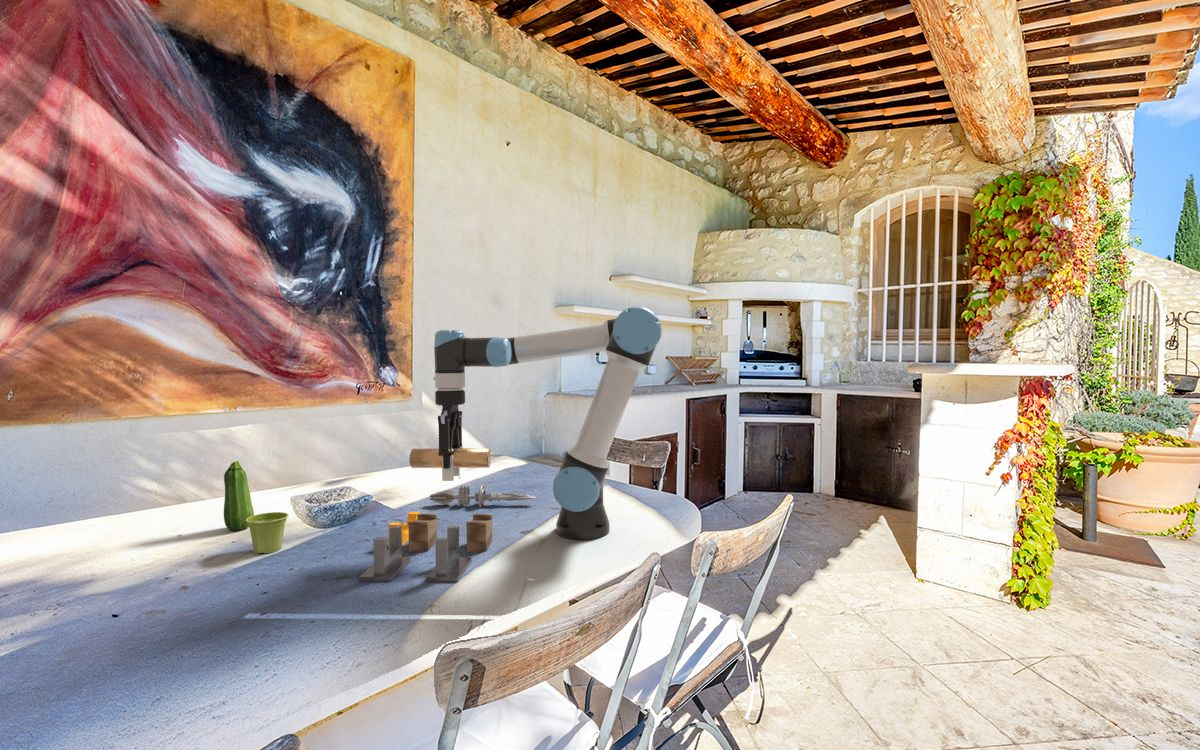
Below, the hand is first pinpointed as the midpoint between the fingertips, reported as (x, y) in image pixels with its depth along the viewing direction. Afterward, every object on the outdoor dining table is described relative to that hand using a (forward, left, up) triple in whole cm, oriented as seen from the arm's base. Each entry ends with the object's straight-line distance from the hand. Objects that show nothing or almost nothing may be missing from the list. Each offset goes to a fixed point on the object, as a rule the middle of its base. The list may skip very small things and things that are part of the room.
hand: (451, 477), depth 140 cm
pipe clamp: (+15, -5, -19) cm, 25 cm away
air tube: (0, 0, +5) cm, 5 cm away
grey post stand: (+3, +16, -18) cm, 24 cm away
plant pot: (+47, +3, -19) cm, 51 cm away
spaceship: (+1, -36, -19) cm, 40 cm away
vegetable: (+66, -13, -19) cm, 70 cm away
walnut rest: (0, 0, -18) cm, 18 cm away
